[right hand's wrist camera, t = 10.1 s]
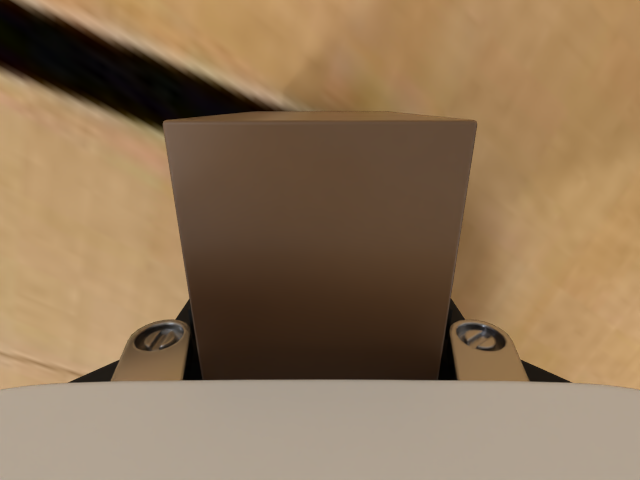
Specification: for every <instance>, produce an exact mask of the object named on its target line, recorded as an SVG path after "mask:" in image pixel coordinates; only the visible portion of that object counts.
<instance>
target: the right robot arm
mask: <svg viewBox="0 0 640 480" xmlns="http://www.w3.org/2000/svg"><path fill="white" fill-rule="evenodd" d="M0 480H640V390H637V389H632V388H625V387H618V386H609V385H598V384H585V383H572V382H570V381H567V380H565V379H563V378H561V377H558V376H556V375H554V374H552V373H549V372H547V371H545V370H543V369H541V368H538V367H536V366H534V365H532V364H529V363H527V362H525V361H523V360H520V358H519V355H518V353H517V351H516V348H515V346H514V344H513V341H512V340H511V338H510V337H509V335H508V334H507V333H505V332H504V331H503V330H502V329H500V328H498V327H496V326H495V325H492V324H489V323H487V322H483V321H478V320H465V319H464V317H463V316H462V314H461V313H460V311H459V310H458V308H457V307H456V305H455V304H454V302H453V301H452V299H451V298H450V304H449V311H448V317H447V324H446V330H445V337H444V343H443V350H442V356H441V363H440V369H439V376H438V380H202V376H201V369H200V363H199V356H198V350H197V343H196V337H195V330H194V324H193V317H192V311H191V304H190V299H189V300H188V302H187V303H186V305H185V306H184V308H183V309H182V311H181V312H180V314H179V315H178V317H177V318H176V320H162V321H157V322H153V323H151V324H148V325H145V326H144V327H142V328H140V329H138V330H137V331H136V332H135V333H133V334H132V335H131V337H130V338H129V340H128V341H127V344H126V346H125V348H124V351H123V353H122V355H121V358H120V360H118V361H116V362H113V363H111V364H109V365H107V366H104V367H102V368H100V369H98V370H95V371H93V372H91V373H89V374H86V375H84V376H82V377H80V378H77V379H75V380H73V381H71V382H68V383H55V384H42V385H31V386H22V387H15V388H8V389H2V390H0Z"/></svg>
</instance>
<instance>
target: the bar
mask: <svg viewBox="0 0 640 480" xmlns="http://www.w3.org/2000/svg"><path fill="white" fill-rule="evenodd" d="M476 128H477V122H476V121H474V120H467V119H457V118H447V117H437V116H427V115H417V114H407V113H397V112H387V111H255V112H245V113H235V114H225V115H214V116H204V117H194V118H184V119H173V120H166V121H164V122H163V129H164V136H165V142H166V149H167V155H168V162H169V168H170V175H171V181H172V188H173V194H174V201H175V207H176V214H177V220H178V226H179V233H180V239H181V246H182V252H183V259H184V265H185V272H186V278H187V285H188V291H189V298H190V304H191V311H192V317H193V324H194V330H195V337H196V343H197V350H198V356H199V363H200V369H201V376H202V380H438V376H439V369H440V363H441V356H442V350H443V343H444V337H445V330H446V324H447V317H448V311H449V304H450V298H451V291H452V285H453V278H454V272H455V265H456V259H457V252H458V246H459V239H460V233H461V226H462V220H463V213H464V207H465V200H466V194H467V187H468V181H469V174H470V168H471V161H472V155H473V148H474V141H475V135H476Z"/></svg>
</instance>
